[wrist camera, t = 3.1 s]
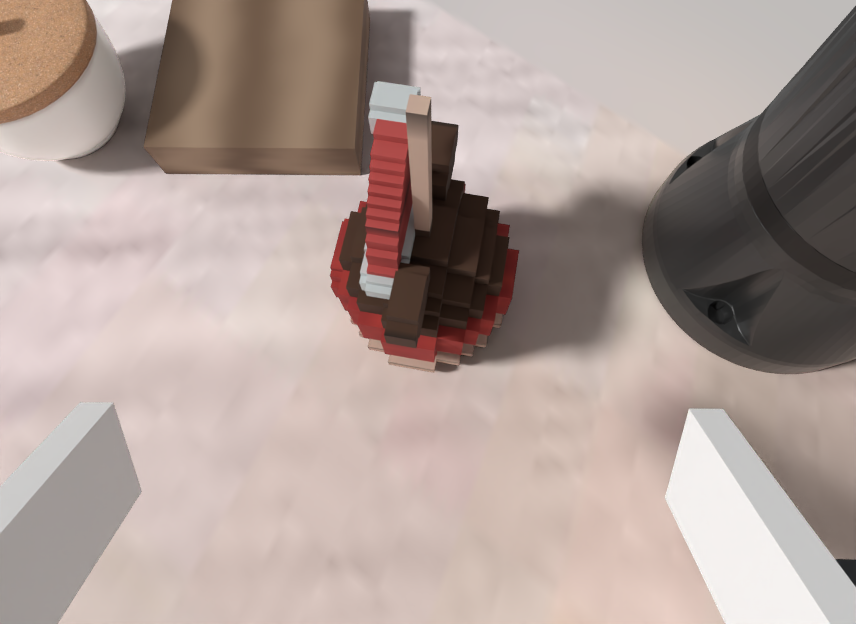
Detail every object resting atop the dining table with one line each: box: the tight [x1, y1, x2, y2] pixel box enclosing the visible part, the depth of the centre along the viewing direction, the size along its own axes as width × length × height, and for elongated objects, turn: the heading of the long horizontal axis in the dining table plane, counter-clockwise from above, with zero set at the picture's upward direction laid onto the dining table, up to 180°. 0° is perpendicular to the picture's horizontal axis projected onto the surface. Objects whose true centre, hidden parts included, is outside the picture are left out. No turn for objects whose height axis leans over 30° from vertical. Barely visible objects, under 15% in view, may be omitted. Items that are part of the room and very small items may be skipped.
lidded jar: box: [0, 0, 126, 161], centre depth 34 cm, size 11×11×9 cm
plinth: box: [144, 0, 370, 175], centre depth 37 cm, size 13×13×3 cm
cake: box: [330, 81, 519, 372], centre depth 25 cm, size 11×9×18 cm
